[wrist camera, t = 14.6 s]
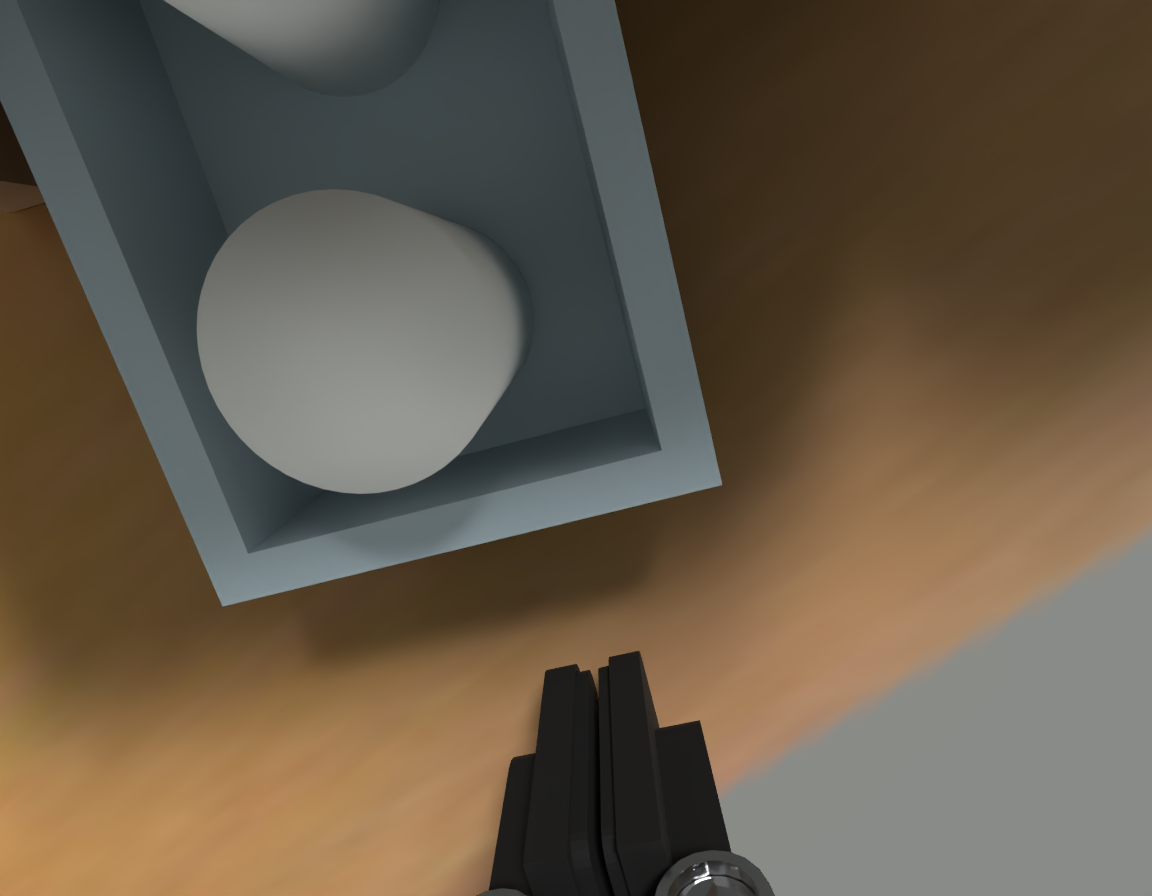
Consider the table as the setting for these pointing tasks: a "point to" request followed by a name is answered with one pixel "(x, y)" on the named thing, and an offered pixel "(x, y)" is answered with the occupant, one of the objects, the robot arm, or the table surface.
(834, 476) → the table surface
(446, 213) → the tray
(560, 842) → the robot arm
